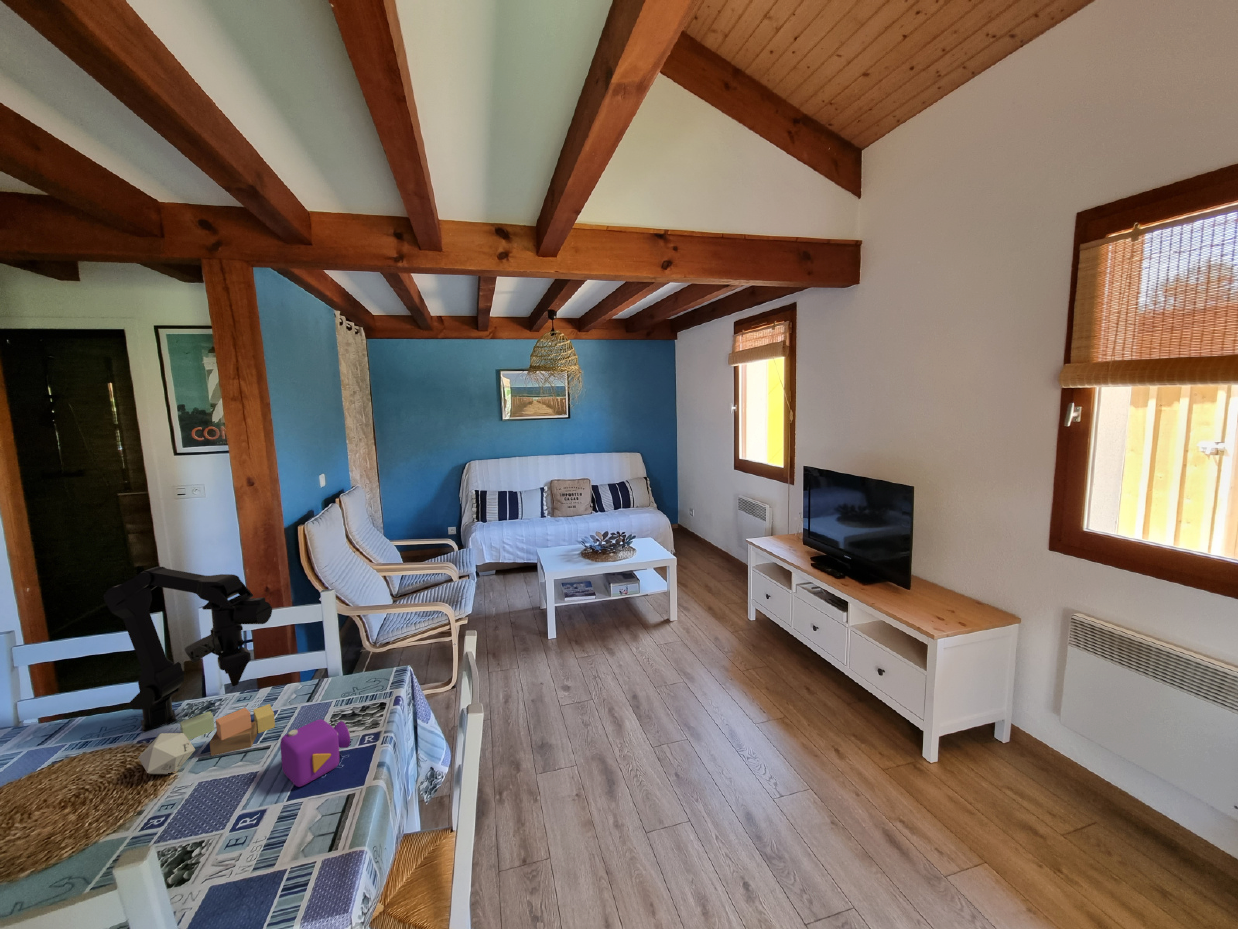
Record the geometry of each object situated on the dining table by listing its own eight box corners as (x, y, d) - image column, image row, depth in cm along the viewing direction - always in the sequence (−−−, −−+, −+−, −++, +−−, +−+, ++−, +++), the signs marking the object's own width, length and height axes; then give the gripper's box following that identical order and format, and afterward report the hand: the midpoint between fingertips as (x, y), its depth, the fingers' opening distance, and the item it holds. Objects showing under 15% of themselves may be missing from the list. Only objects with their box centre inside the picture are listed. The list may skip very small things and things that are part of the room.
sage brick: (181, 736, 123) (180, 722, 123) (211, 725, 128) (210, 711, 127) (184, 742, 121) (182, 728, 120) (214, 730, 125) (213, 716, 125)
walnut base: (218, 744, 120) (217, 729, 120) (257, 735, 123) (256, 721, 123) (211, 757, 116) (209, 741, 115) (251, 748, 119) (249, 733, 118)
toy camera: (360, 754, 116) (358, 716, 115) (303, 794, 104) (300, 751, 103) (331, 741, 121) (329, 704, 120) (274, 778, 108) (270, 737, 108)
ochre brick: (258, 734, 124) (257, 719, 124) (254, 723, 128) (253, 709, 128) (275, 727, 127) (274, 713, 126) (270, 717, 131) (269, 704, 130)
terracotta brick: (217, 734, 118) (215, 719, 118) (246, 722, 123) (245, 707, 122) (221, 740, 116) (220, 725, 115) (251, 727, 121) (250, 712, 120)
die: (148, 793, 105) (181, 749, 107) (119, 769, 106) (152, 727, 109) (181, 778, 113) (211, 738, 116) (154, 757, 114) (184, 717, 117)
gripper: (181, 623, 127) (186, 678, 128) (191, 645, 114) (196, 706, 116) (234, 610, 135) (238, 663, 136) (248, 630, 122) (253, 687, 124)
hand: (231, 679), depth 128 cm, fingers open, 9 cm apart
